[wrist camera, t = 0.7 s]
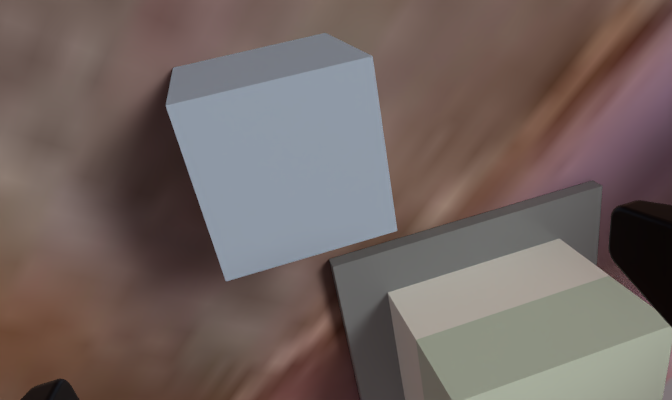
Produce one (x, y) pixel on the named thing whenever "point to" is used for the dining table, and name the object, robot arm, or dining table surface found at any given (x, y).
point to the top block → (284, 151)
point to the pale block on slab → (500, 311)
